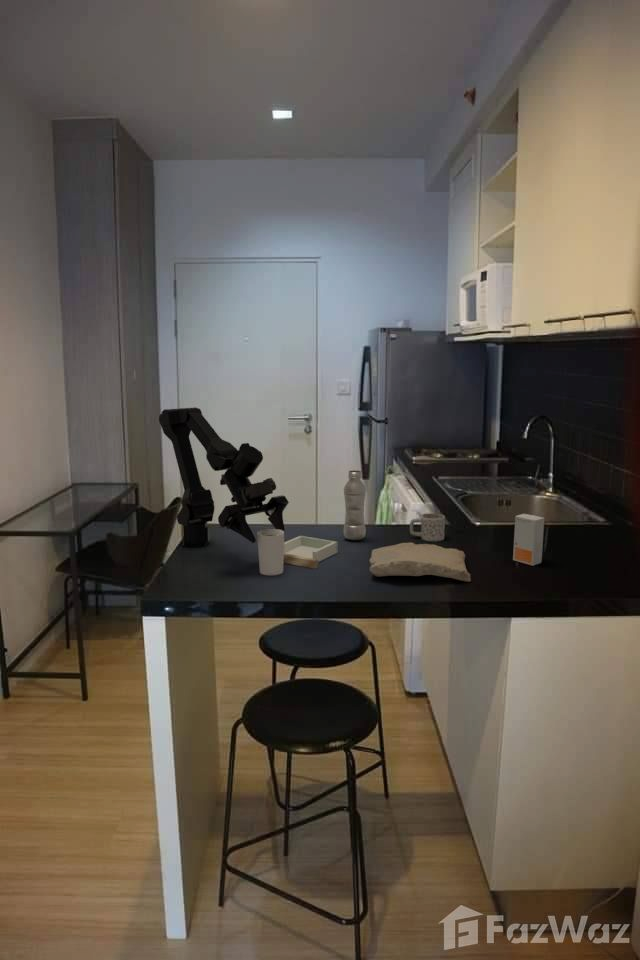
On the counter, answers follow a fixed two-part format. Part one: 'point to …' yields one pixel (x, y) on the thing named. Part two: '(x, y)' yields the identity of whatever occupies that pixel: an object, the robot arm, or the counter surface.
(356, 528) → the plastic bottle
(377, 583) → the counter surface
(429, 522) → the mug
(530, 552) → the skincare box
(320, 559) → the tray
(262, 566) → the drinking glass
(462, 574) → the beige flat stone slab
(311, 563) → the oak rail
